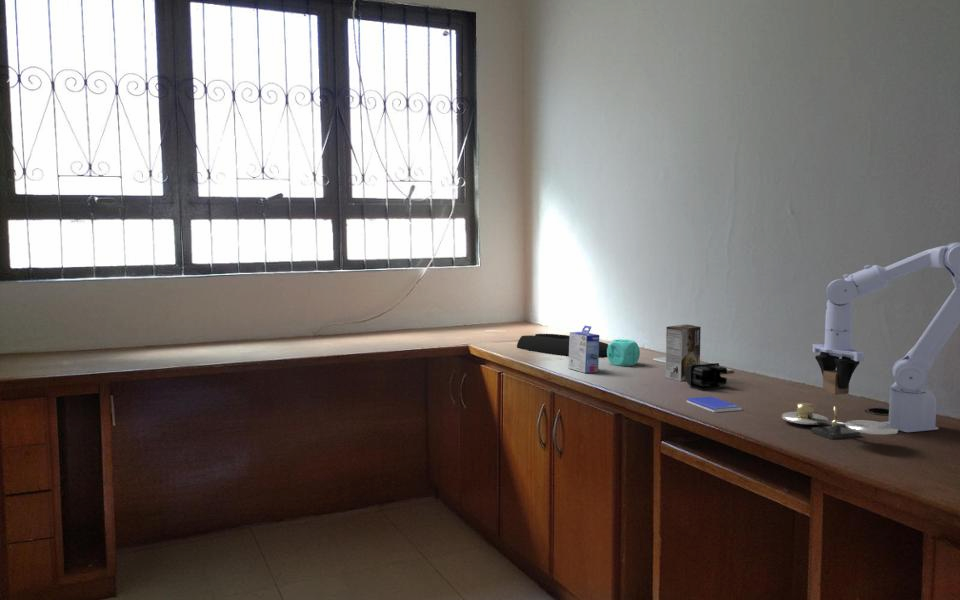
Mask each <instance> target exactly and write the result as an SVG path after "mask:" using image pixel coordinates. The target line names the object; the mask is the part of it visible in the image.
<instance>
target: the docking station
mask: <svg viewBox="0 0 960 600" xmlns="http://www.w3.org/2000/svg"><path fill="white" fill-rule="evenodd" d="M569 339H570V334H569V335H566V334H556V333H535V334H533V335H531V334H530V335H526V334H525V335H521V336H520V338H519V339H518V341H517V344H516V348H517V349H520V350H525V351H529V352H534V353H540V354H546V355H554V356H560V357H561V356H563V357H569ZM608 346H609V344H608V343H607V342H604V341H603V342H602V341H600V340H599V358H605V357H607V348H608ZM607 358H608V357H607Z"/></svg>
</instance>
